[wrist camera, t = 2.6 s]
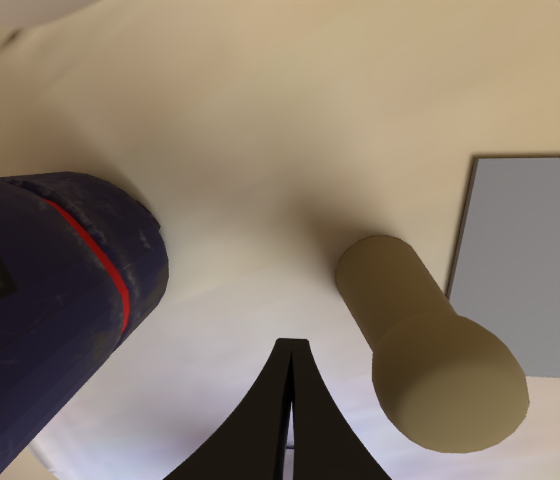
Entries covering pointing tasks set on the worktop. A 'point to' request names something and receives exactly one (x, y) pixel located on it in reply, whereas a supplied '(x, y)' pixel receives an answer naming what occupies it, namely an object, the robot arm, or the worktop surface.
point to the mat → (513, 258)
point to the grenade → (67, 291)
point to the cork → (429, 353)
